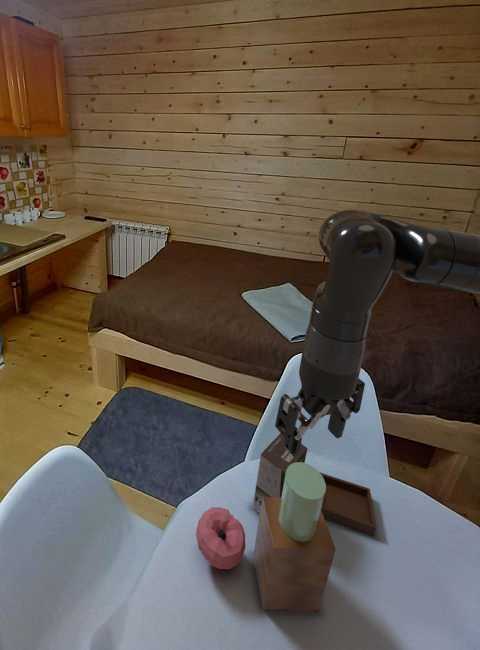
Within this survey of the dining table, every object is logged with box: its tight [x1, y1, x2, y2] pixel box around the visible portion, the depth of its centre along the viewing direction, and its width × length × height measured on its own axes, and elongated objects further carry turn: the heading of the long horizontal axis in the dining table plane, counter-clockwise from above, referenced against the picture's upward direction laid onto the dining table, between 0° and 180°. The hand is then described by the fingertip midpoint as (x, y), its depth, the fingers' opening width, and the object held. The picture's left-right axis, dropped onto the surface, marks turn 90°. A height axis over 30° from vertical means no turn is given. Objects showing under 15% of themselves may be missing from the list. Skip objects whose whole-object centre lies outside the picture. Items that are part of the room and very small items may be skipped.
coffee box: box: [252, 432, 308, 515], centre depth 75 cm, size 9×6×16 cm
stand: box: [252, 497, 337, 612], centre depth 61 cm, size 10×8×17 cm
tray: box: [318, 471, 377, 537], centre depth 77 cm, size 12×9×3 cm
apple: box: [195, 506, 246, 570], centre depth 66 cm, size 10×9×10 cm
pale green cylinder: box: [278, 462, 326, 542], centre depth 57 cm, size 6×6×10 cm
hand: (313, 442), depth 53 cm, fingers open, 8 cm apart
